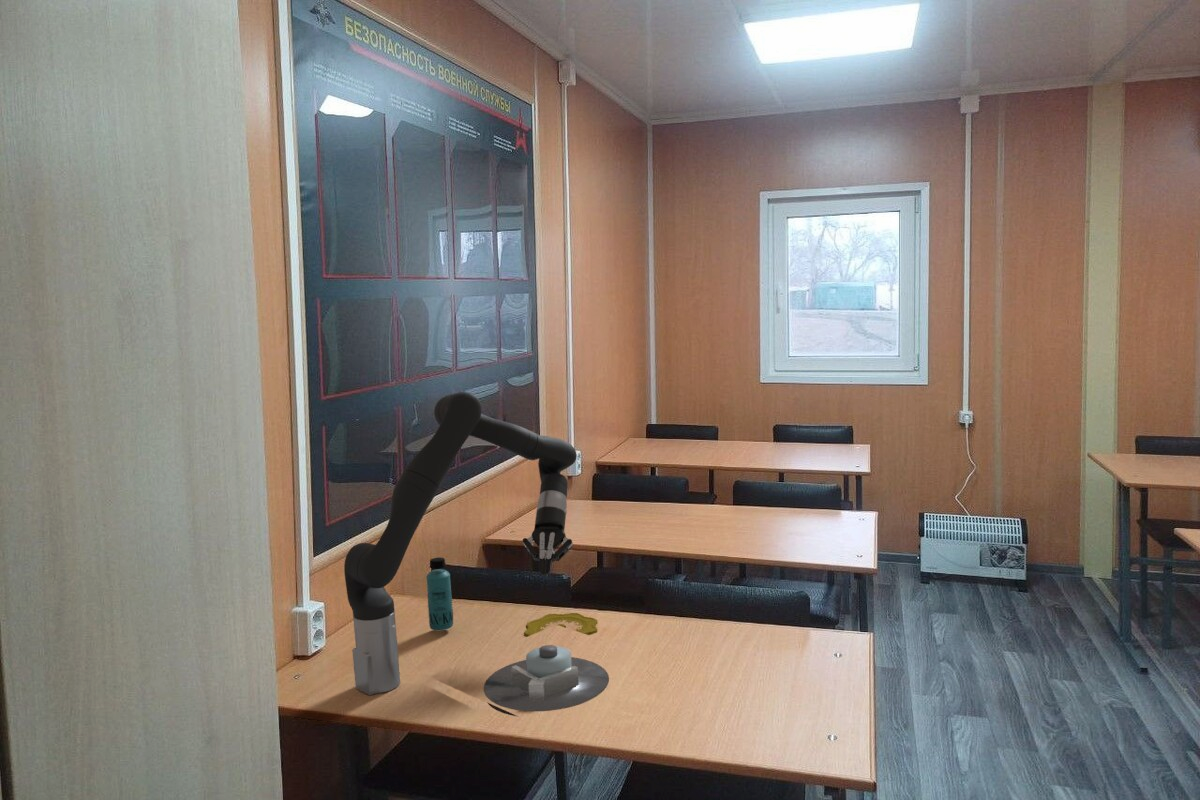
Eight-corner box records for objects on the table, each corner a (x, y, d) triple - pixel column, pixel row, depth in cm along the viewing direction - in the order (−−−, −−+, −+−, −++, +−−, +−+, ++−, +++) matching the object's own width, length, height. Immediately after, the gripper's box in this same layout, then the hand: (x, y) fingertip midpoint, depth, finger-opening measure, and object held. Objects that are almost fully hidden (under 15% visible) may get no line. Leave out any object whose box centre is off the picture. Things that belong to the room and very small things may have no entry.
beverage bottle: (427, 630, 238) (421, 557, 236) (451, 625, 241) (445, 553, 238) (433, 638, 232) (427, 564, 230) (457, 632, 235) (452, 559, 232)
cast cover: (550, 694, 192) (548, 661, 191) (518, 683, 199) (516, 651, 198) (581, 678, 199) (579, 646, 199) (549, 667, 206) (547, 636, 205)
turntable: (502, 661, 214) (500, 639, 214) (616, 662, 210) (615, 640, 210) (468, 716, 187) (466, 691, 186) (599, 719, 183) (598, 693, 182)
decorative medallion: (598, 614, 244) (598, 609, 244) (597, 642, 225) (597, 636, 224) (527, 618, 244) (527, 612, 244) (520, 645, 225) (520, 640, 225)
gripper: (523, 504, 223) (514, 567, 212) (575, 505, 221) (569, 569, 211) (527, 519, 228) (519, 581, 218) (578, 520, 227) (572, 582, 217)
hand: (544, 575), depth 214 cm, fingers closed
